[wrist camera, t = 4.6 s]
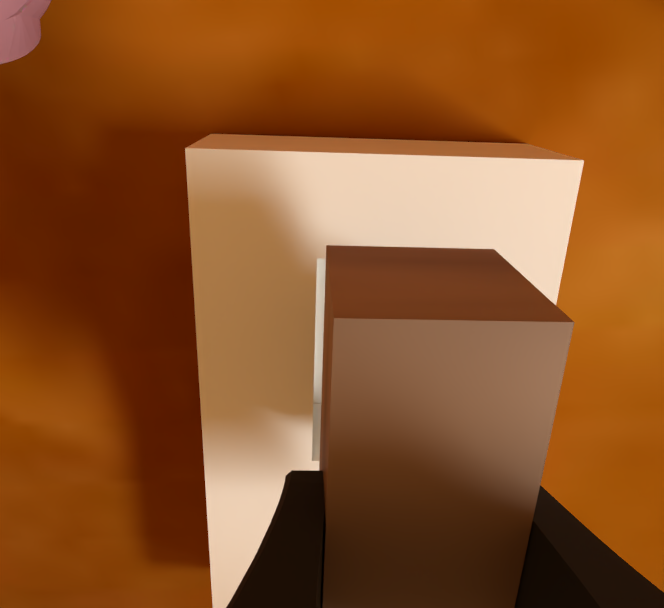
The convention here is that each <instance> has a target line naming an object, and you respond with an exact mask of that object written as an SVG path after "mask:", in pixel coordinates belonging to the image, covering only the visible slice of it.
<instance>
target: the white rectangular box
mask: <svg viewBox="0 0 664 608" xmlns="http://www.w3.org/2000/svg"><path fill="white" fill-rule="evenodd" d="M185 156H186V173H187V189H188V206H189V223H190V239H191V256H192V272H193V289H194V306H195V322H196V339H197V356H198V372H199V389H200V405H201V422H202V439H203V455H204V472H205V488H206V505H207V522H208V538H209V555H210V572H211V588H212V605H213V608H226V607H227V605H228V604H229V602H230V600H231V599H232V597H233V595H234V593H235V592H236V590H237V588H238V586H239V584H240V583H241V581H242V579H243V577H244V575H245V574H246V572H247V570H248V568H249V566H250V565H251V563H252V561H253V559H254V557H255V555H256V553H257V551H258V549H259V547H260V544H261V542H262V540H263V538H264V536H265V534H266V532H267V529H268V527H269V525H270V523H271V520H272V518H273V515H274V513H275V510H276V508H277V505H278V503H279V500H280V497H281V494H282V490H283V487H284V483H285V477H286V475H287V474H288V473H289V472H291V471H292V470H311V471H319V461H320V429H321V398H322V366H323V335H324V303H325V271H326V245H340V246H383V247H426V248H469V249H495V250H496V251H497V252H498V253H499V254H500V255H501V256H502V257H503V258H504V259H505V260H507V261H508V262H509V263H510V264H511V265H512V266H513V267H514V268H515V269H516V270H518V271H519V272H520V273H521V274H522V275H523V276H524V277H525V278H526V279H527V280H528V281H530V282H531V283H532V284H533V285H534V286H535V287H536V288H537V289H538V290H539V291H540V292H542V293H543V294H544V295H545V296H546V297H547V298H548V299H549V300H550V301H551V302H553V303H554V304H555V305H556V302H557V297H558V292H559V286H560V281H561V276H562V271H563V266H564V261H565V256H566V250H567V245H568V240H569V235H570V230H571V225H572V220H573V215H574V209H575V204H576V199H577V194H578V189H579V184H580V179H581V173H582V168H583V163H584V160H581V159H578V158H574V157H571V156H567V155H564V154H561V153H557V152H554V151H550V150H547V149H544V148H540V147H537V146H533V145H530V144H520V143H489V142H458V141H427V140H395V139H364V138H333V137H302V136H271V135H239V134H210V135H208V136H206V137H204V138H203V139H201V140H199V141H197V142H195V143H193V144H192V145H190V146H188V147H186V148H185Z"/></svg>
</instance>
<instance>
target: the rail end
mask: <svg viewBox="0 0 664 608" xmlns="http://www.w3.org/2000/svg"><path fill="white" fill-rule="evenodd" d="M573 326H574V322H573V321H572V320H571V319H570V318H569V317H568V316H567V315H566V314H565V313H563V312H562V311H561V310H560V309H559V308H558V307H557V306H556V305H555V304H554V303H553V302H551V301H550V300H549V299H548V298H547V297H546V296H545V295H544V294H543V293H542V292H540V291H539V290H538V289H537V288H536V287H535V286H534V285H533V284H532V283H531V282H530V281H528V280H527V279H526V278H525V277H524V276H523V275H522V274H521V273H520V272H519V271H518V270H516V269H515V268H514V267H513V266H512V265H511V264H510V263H509V262H508V261H507V260H505V259H504V258H503V257H502V256H501V255H500V254H499V253H498V252H497V251H496V250H495V249H469V248H426V247H383V246H340V245H326V271H325V303H324V335H323V366H322V398H321V429H320V461H319V471H323V481H324V497H325V518H324V545H323V572H322V599H321V608H514V607H515V602H516V598H517V593H518V588H519V583H520V578H521V574H522V569H523V564H524V559H525V555H526V550H527V545H528V540H529V536H530V531H531V526H532V521H533V516H534V512H535V507H536V502H537V497H538V493H539V488H540V483H541V478H542V474H543V469H544V464H545V459H546V455H547V450H548V445H549V440H550V435H551V431H552V426H553V421H554V416H555V412H556V407H557V402H558V397H559V393H560V388H561V383H562V378H563V373H564V369H565V364H566V359H567V354H568V350H569V345H570V340H571V335H572V331H573Z"/></svg>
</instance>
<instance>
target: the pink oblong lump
mask: <svg viewBox="0 0 664 608" xmlns="http://www.w3.org/2000/svg"><path fill="white" fill-rule="evenodd" d="M50 2H51V0H0V64H3V63H7V62H10V61H13V60H16V59H19V58H21V57H23V56H25V55H27V54H28V53H29V52H31V51H32V50H33V49H34V48H35V47H36V46H37V45H38V43H39V41H40V38H41V28H40V18H41V17H42V16H43V14H44V13H45V11H46V10H47V8H48V6H49V4H50Z"/></svg>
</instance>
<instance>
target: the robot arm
mask: <svg viewBox="0 0 664 608" xmlns="http://www.w3.org/2000/svg"><path fill="white" fill-rule="evenodd" d="M324 518H325V497H324V481H323V471H311V470H292V471H291V472H289V473H288V474H287V475H286V477H285V483H284V487H283V490H282V494H281V497H280V500H279V503H278V505H277V508H276V510H275V513H274V515H273V518H272V520H271V523H270V525H269V527H268V529H267V532H266V534H265V536H264V538H263V540H262V542H261V544H260V547H259V549H258V551H257V553H256V555H255V557H254V559H253V561H252V563H251V565H250V566H249V568H248V570H247V572H246V574H245V575H244V577H243V579H242V581H241V583H240V584H239V586H238V588H237V590H236V592H235V593H234V595H233V597H232V599H231V600H230V602H229V604H228V605H227V607H226V608H321V599H322V572H323V545H324ZM514 608H664V593H663V592H662V591H661V590H660V589H658V588H657V587H656V586H655V585H653V584H652V583H651V582H650V581H648V580H647V579H646V578H645V577H643V576H642V575H641V574H640V573H638V572H637V571H636V570H635V569H634V568H632V567H631V566H630V565H629V564H628V563H626V562H625V561H624V560H623V559H622V558H621V557H619V556H618V555H617V554H616V553H615V552H614V551H612V550H611V549H610V548H609V547H608V546H607V545H605V544H604V543H603V542H602V541H601V540H600V539H599V538H598V537H596V536H595V535H594V534H593V533H592V532H591V531H590V530H589V529H587V528H586V527H585V526H584V525H583V524H582V523H581V522H580V521H579V520H577V519H576V518H575V517H574V516H573V515H572V514H571V513H570V512H569V511H568V510H567V509H565V508H564V507H563V506H562V505H561V504H560V503H559V502H558V501H557V500H556V499H555V498H554V497H552V496H551V495H550V494H549V493H548V492H547V491H546V490H545V489H544V488H543V487H542V486H540V488H539V493H538V497H537V502H536V507H535V512H534V516H533V521H532V526H531V531H530V536H529V540H528V545H527V550H526V555H525V559H524V564H523V569H522V574H521V578H520V583H519V588H518V593H517V598H516V602H515V607H514Z"/></svg>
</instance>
